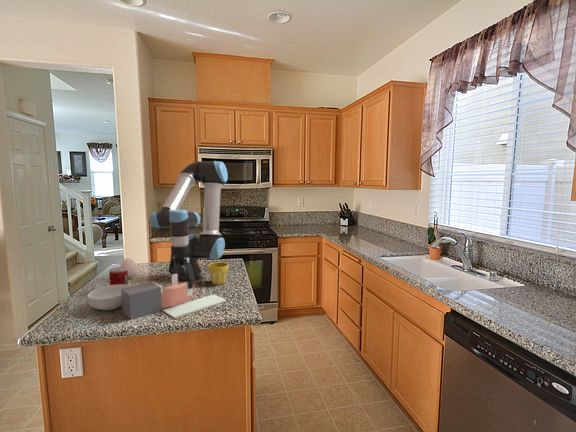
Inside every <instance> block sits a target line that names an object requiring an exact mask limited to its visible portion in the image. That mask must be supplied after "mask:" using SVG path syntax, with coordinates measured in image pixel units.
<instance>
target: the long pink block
mask: <svg viewBox="0 0 576 432" xmlns="http://www.w3.org/2000/svg"><path fill="white" fill-rule="evenodd" d="M192 300H193V295H191V296H186V282H181V283H178V284H177V285H173V286H172V285H170V286H166V287H163V292H162V293H161V306H162V309H164V308H165V309H166V308H167V307H168V308H169V307H172V306H176V305H177V304H178V305H179V304H180V303H181V304H182V303H184V302H189V301H192Z"/></svg>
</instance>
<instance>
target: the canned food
mask: <svg viewBox="0 0 576 432" xmlns="http://www.w3.org/2000/svg"><path fill="white" fill-rule="evenodd" d="M108 274H109V286H110V285H120V284H124V285H129V279H128V271H127V267H120V266H115V267H112V268H110V269H109V271H108Z"/></svg>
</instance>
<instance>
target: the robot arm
mask: <svg viewBox="0 0 576 432" xmlns="http://www.w3.org/2000/svg"><path fill="white" fill-rule="evenodd" d="M228 176H229V175H228V170H227V167H226V164H225V163H224V162H223V161H216V160H211V161H200V160H199V161H194V162H192V163H189V164H188V165H187V166H185V167H184V168H183V169H182V170H181V171H180V173H179V174H178V175H177V182H175V185H174V186H173V188H172V189H171V191H170V193H169V195H168V196H167V198H166V199H165V202H164V203H163V204H162V206H161V208H160V209H159V211H154V212H152V213H151V214H150V215H149V216H150V217H149V224H150V226H151V227H153V228H156V229H169V232H170V239H169V241H170V245H171V246H170V261H169V265H168V269H167V271H168V273H170V276H171V277H170V279H171V282H170V283H171V286H173V285H177V284H179V281H185V282H186V296H191V295H192V296H193V295H194V287H193V282H194V281H195V280H196V279H198V278H200V277H201V276H202V269H201V266H200V264H199V262H198V261H199V260H198V259H201V260H202V259H203V260H207V259H208V260H218V259H220V258H222V256H223V254H224V252H225V247H226V246H225V245H226V242H225V239H224V237H222V233H221V232H220V211H221V192H222V191H221V189H222V188H223V187H224V183H227V181H228ZM197 183H201V185H202V186H203V188H204V194H203V195H204V198H203V199H204V200H203V201H204V202H203V221H202V231H201V232H200V233H199V236H197V234H196V233H192V234H191V233H190V234H189V230H190V229H194V228H196V227H198V226H199V224H200V222H201V216H200V214H199V213H198V212H196V211H187V210H186V209H180V208H181V206H182V205H183V203H184V201H185V199H186V197H187V196H188V194H189V192H190V190H191V188H193V187H194V186H195V185H196V184H197Z"/></svg>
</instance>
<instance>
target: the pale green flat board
mask: <svg viewBox="0 0 576 432" xmlns="http://www.w3.org/2000/svg"><path fill="white" fill-rule="evenodd" d="M226 302H227V299H226V298H223V297H221V296H219V295H217V294H209V295H208V296H204V297H201V298H197V299H195V300H190V301H186V302H185V303H184V302H183V303H181V304H178V305H173V306H170V307H168V308H165V309H163V310H162V312H163V313H165V314H167V315H168V316H170V317H171V318H173V319H179V318H181V317H184V316H188V315H191V314H193V313H196V312H199V311H202V310H205V309H208V308H210V307H213V306H216V305H219V304H222V303H226Z"/></svg>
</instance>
